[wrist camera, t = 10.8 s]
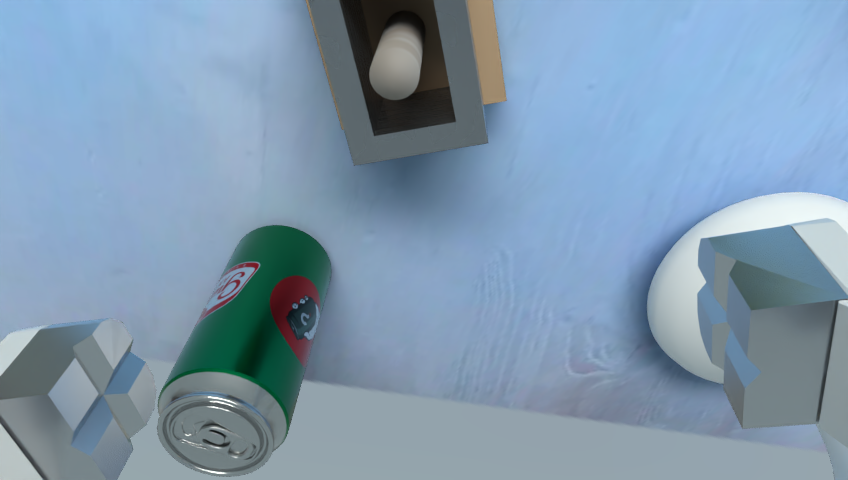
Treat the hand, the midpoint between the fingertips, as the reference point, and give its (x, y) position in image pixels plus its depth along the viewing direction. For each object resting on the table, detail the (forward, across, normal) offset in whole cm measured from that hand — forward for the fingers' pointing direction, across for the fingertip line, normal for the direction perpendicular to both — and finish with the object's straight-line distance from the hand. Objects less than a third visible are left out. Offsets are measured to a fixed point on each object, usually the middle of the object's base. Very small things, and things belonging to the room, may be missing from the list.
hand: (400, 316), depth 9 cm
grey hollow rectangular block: (+19, +1, +1) cm, 19 cm away
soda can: (+21, +11, +12) cm, 27 cm away
